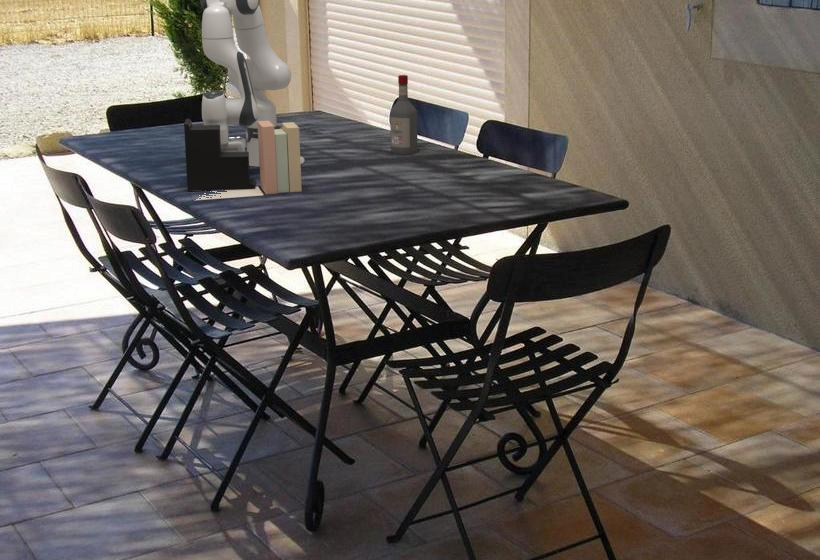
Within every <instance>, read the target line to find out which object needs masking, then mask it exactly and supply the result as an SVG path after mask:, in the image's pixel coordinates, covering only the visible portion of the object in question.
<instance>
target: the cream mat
mask: <svg viewBox="0 0 820 560" xmlns="http://www.w3.org/2000/svg"><path fill="white" fill-rule="evenodd" d="M221 190H222V189H221ZM223 190H225V191H227V192H217V191H212V192H215V193H216V192H217V193H221V194H209V195H213V196H206V195H202V197H199V198H201V199H199V198H198V199H196V200H195V201H205V200H207V201H208V200H217V199H218V200H219V199H232V198H245V197H258V196H260V197H261V196H264V192H262V189H260V187H259V186H257V185H256V188H255V189H223ZM205 191H206V190H205ZM210 192H211V191H210ZM204 194H206V193H204ZM214 195H216V196H214ZM199 196H200V195H199ZM203 196H205V197H203ZM220 196H221V197H220ZM206 197H209V198H206ZM210 197H212V198H210Z"/></svg>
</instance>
